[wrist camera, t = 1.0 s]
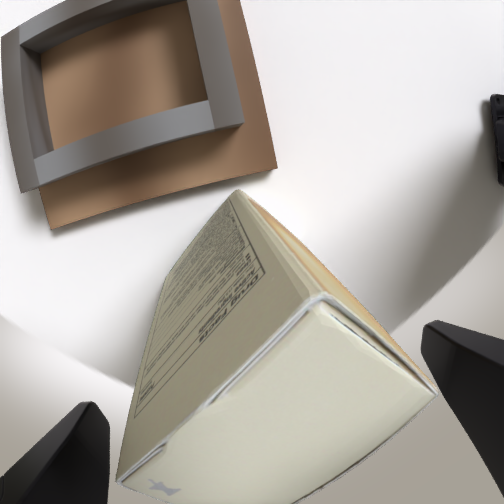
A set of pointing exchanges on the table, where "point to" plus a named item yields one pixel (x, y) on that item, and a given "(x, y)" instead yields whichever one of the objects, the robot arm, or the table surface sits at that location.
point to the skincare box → (260, 373)
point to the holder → (131, 102)
